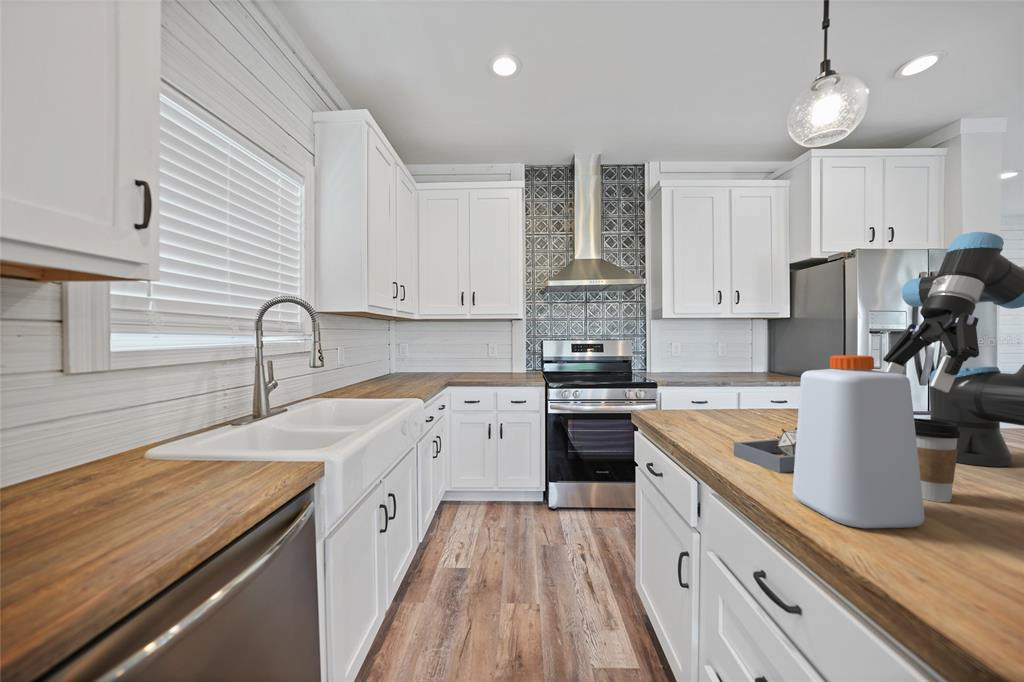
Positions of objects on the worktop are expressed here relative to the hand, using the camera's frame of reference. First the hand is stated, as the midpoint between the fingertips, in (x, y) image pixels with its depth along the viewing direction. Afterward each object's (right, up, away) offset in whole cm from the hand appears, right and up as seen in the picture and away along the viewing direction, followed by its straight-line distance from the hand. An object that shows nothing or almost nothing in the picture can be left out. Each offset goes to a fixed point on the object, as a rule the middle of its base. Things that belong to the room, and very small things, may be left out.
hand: (910, 390), depth 84 cm
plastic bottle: (-23, -20, -13) cm, 33 cm away
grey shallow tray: (-15, -20, +16) cm, 30 cm away
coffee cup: (-3, -20, -7) cm, 21 cm away
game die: (-12, -20, +17) cm, 29 cm away
